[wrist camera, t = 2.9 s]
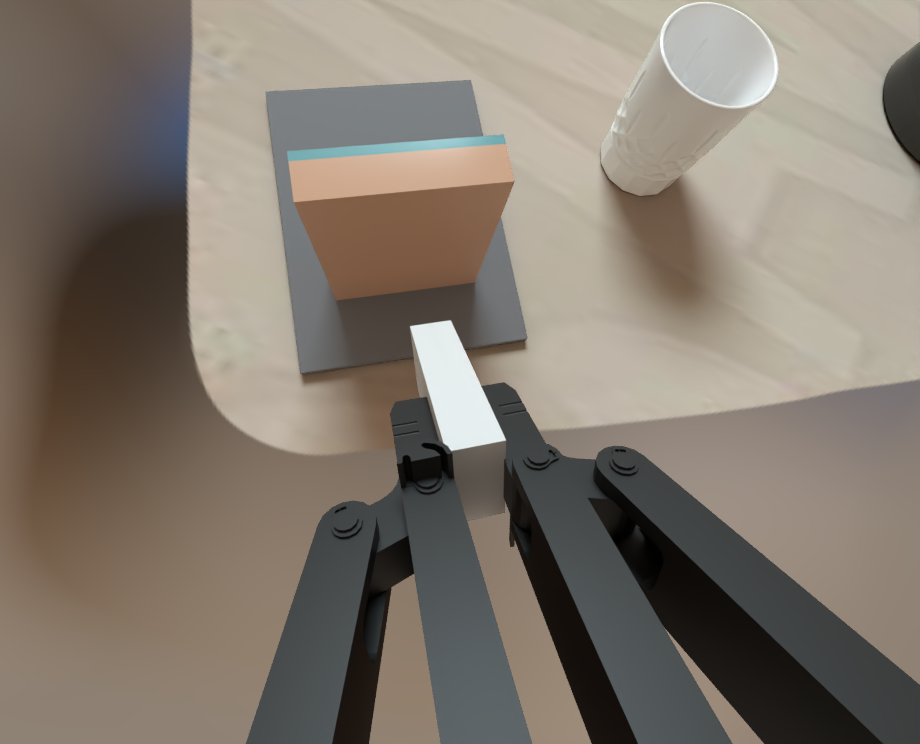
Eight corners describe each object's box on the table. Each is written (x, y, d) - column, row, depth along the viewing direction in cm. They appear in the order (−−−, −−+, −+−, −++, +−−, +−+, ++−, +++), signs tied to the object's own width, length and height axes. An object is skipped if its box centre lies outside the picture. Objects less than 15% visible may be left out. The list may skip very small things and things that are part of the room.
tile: (474, 282, 32) (514, 181, 20) (336, 300, 31) (293, 202, 19) (468, 251, 33) (503, 134, 21) (331, 267, 31) (286, 151, 19)
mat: (525, 340, 32) (527, 338, 32) (302, 374, 30) (300, 372, 29) (469, 86, 36) (470, 80, 36) (267, 98, 34) (265, 91, 33)
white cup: (697, 187, 37) (801, 90, 27) (618, 215, 36) (698, 123, 26) (655, 110, 38) (740, -10, 28) (576, 134, 37) (638, 15, 27)
